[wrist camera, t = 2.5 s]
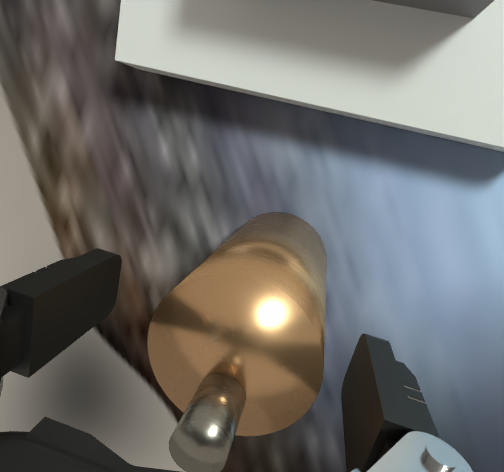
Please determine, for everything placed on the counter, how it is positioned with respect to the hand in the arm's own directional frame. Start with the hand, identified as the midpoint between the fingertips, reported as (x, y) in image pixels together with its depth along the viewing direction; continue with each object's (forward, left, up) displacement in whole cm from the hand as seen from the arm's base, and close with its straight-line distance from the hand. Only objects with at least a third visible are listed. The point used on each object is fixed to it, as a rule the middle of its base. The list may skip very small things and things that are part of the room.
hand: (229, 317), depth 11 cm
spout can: (-1, 0, -7) cm, 7 cm away
